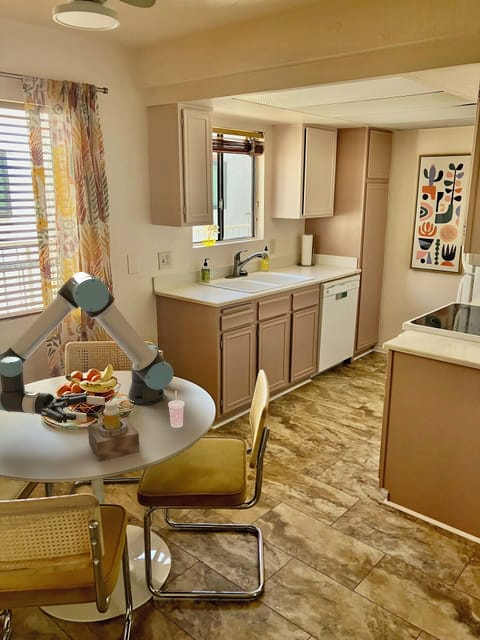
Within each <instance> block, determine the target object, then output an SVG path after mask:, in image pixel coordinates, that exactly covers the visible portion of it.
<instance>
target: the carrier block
mask: <svg viewBox="0 0 480 640" xmlns="http://www.w3.org/2000/svg"><path fill="white" fill-rule="evenodd" d="M87 433H88V434H87V435H88V444H89V446H90V448H91V450H92V451H93V453H94V455H95V457H96V459H97V461H98V462H103V461H106V460H111V459H115V458H119V457H123V456H127V455H132V454H135V453H139V452H140V436H139V435H140V433H139V432H138V430H137V429H136V428H135V426H134V425H133V424H132V422H131V421H130V420H129V418H128V417H127V416H126V417H120V429H115V430H105V428H104V421H101V422H97V423H93V424H88V425H87Z"/></svg>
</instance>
